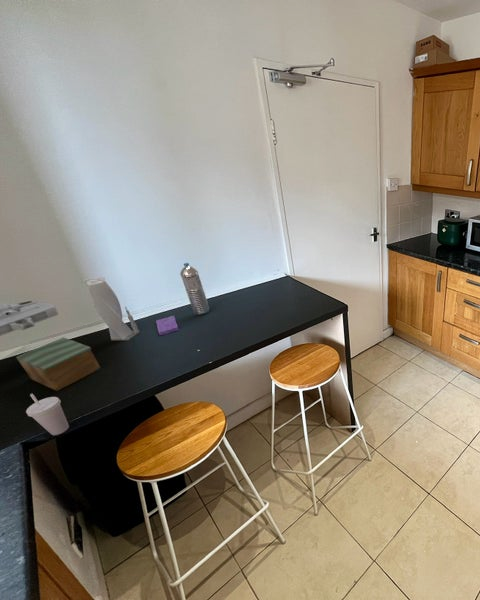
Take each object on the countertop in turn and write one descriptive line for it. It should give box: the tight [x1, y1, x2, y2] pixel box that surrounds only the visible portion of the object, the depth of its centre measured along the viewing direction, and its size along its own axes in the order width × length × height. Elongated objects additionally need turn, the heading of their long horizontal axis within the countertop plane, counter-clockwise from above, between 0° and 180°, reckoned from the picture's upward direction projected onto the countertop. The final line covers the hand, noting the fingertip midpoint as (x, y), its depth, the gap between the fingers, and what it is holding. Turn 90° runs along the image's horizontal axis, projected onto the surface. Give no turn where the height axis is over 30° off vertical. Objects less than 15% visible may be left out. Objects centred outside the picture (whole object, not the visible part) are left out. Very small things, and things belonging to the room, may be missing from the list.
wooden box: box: [17, 348, 102, 392], centre depth 109 cm, size 16×13×9 cm
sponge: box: [155, 315, 180, 336], centre depth 138 cm, size 7×13×2 cm, turn 39°
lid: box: [16, 337, 92, 371], centre depth 107 cm, size 16×13×1 cm
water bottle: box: [179, 262, 211, 316], centre depth 145 cm, size 7×7×25 cm
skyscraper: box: [82, 276, 141, 342], centre depth 126 cm, size 8×8×28 cm
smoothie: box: [25, 393, 70, 436], centre depth 86 cm, size 6×6×14 cm
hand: (28, 325), depth 105 cm, fingers closed
